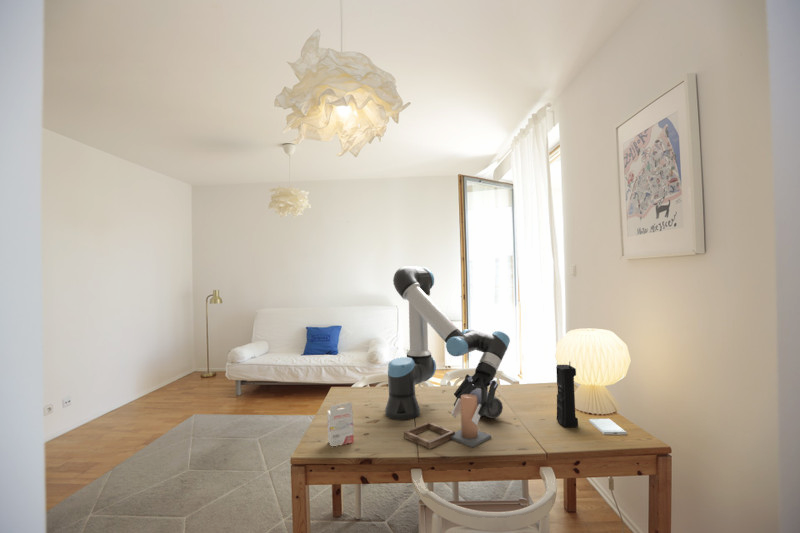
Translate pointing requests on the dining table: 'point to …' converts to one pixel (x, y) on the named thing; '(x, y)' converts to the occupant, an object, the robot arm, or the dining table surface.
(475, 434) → the salmon orange cylinder
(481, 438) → the charcoal mat
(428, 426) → the walnut collar
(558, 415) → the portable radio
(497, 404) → the bluetooth speaker
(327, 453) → the dining table surface
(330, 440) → the ink cartridge box
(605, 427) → the hard drive
